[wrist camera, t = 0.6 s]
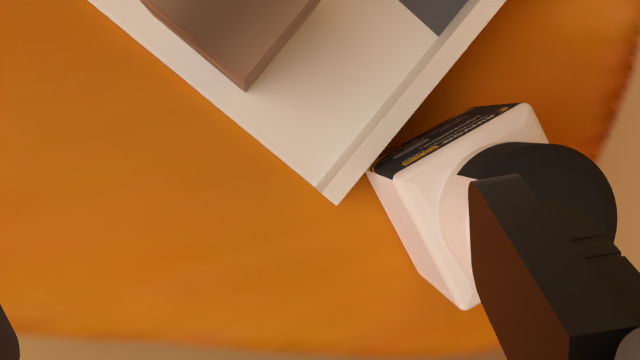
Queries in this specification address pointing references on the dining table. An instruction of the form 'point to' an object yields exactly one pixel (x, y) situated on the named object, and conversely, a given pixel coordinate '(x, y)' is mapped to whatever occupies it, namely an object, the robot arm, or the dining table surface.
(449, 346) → the dining table surface
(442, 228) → the medicine bottle
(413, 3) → the mat
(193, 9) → the walnut block
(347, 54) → the shallow white tray
